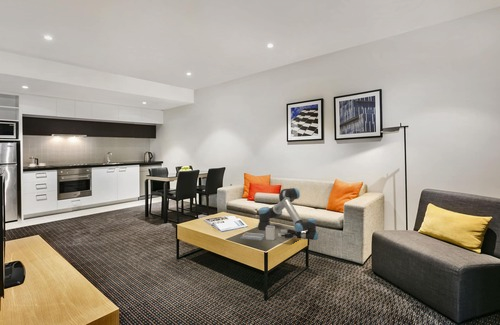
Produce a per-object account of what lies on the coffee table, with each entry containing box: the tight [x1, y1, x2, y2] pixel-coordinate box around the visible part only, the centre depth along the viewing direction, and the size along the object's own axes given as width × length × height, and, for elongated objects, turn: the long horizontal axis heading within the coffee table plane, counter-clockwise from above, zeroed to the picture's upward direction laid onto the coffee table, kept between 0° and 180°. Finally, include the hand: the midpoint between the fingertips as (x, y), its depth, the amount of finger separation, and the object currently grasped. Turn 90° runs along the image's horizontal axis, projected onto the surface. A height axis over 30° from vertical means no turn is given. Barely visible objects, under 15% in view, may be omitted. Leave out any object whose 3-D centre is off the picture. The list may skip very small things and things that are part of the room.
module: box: [265, 225, 276, 241], centre depth 256 cm, size 6×8×13 cm
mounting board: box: [239, 231, 266, 242], centre depth 262 cm, size 16×22×2 cm
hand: (279, 232), depth 253 cm, fingers open, 13 cm apart
